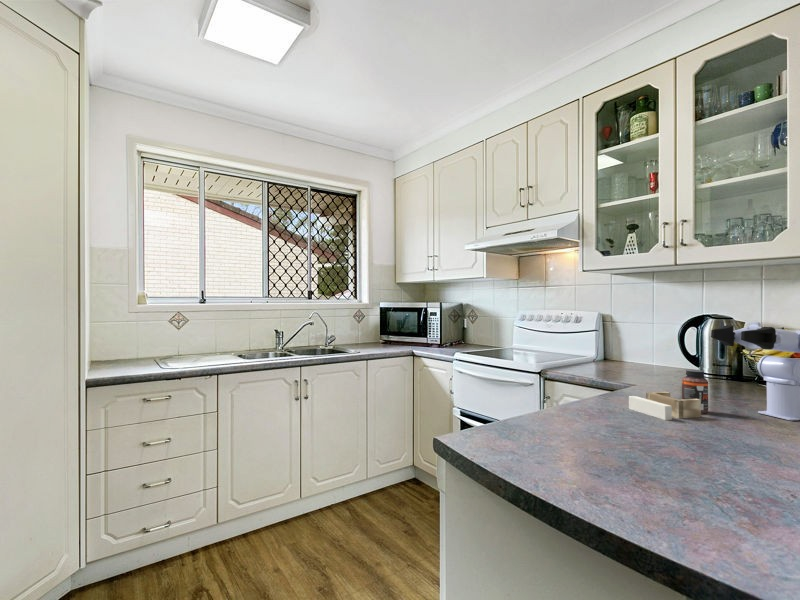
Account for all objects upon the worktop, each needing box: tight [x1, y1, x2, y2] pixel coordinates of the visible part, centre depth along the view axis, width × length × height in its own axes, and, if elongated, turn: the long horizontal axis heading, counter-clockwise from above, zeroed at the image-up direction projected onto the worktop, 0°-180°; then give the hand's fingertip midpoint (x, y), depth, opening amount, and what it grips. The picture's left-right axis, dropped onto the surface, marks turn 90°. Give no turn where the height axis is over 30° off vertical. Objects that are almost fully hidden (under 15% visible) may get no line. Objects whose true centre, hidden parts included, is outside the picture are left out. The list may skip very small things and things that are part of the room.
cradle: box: [645, 391, 702, 419], centre depth 111 cm, size 7×10×4 cm
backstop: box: [628, 395, 673, 421], centre depth 110 cm, size 2×12×4 cm, turn 13°
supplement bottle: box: [681, 369, 709, 415], centre depth 113 cm, size 6×6×11 cm
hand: (727, 334), depth 104 cm, fingers open, 7 cm apart
